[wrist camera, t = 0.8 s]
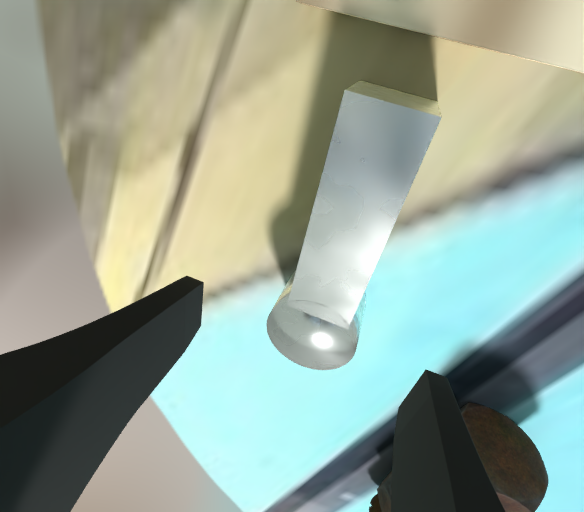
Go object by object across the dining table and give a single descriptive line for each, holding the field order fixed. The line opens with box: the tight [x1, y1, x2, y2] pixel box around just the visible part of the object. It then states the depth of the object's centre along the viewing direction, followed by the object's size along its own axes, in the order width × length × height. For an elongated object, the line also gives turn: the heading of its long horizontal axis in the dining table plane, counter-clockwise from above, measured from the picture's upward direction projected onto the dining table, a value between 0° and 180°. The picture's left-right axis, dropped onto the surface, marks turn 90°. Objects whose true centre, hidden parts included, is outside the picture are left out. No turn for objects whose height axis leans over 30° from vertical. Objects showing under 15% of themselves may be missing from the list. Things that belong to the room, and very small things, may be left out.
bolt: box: [369, 402, 548, 512], centre depth 24 cm, size 6×5×15 cm
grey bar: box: [267, 80, 441, 370], centre depth 16 cm, size 5×14×4 cm, turn 169°
